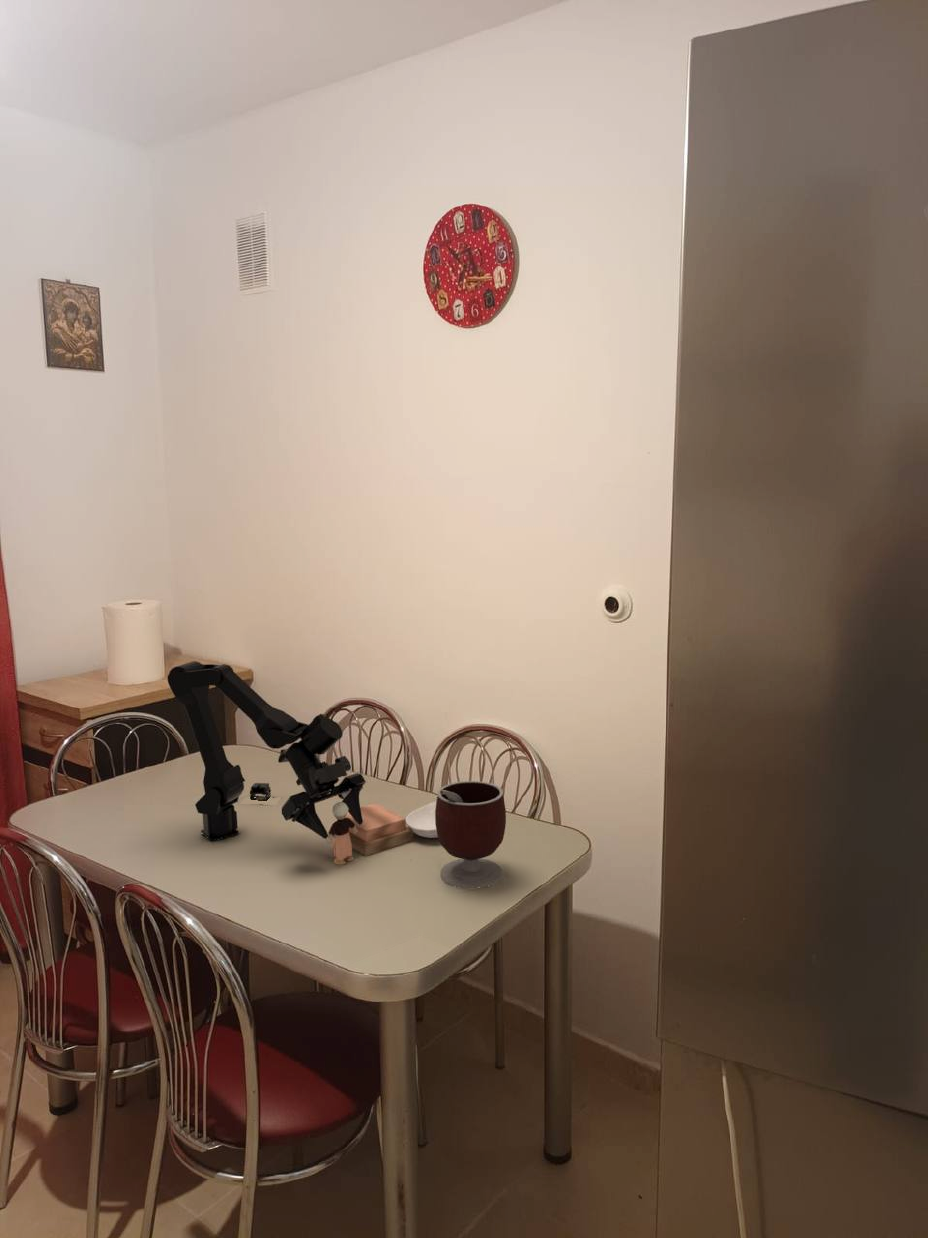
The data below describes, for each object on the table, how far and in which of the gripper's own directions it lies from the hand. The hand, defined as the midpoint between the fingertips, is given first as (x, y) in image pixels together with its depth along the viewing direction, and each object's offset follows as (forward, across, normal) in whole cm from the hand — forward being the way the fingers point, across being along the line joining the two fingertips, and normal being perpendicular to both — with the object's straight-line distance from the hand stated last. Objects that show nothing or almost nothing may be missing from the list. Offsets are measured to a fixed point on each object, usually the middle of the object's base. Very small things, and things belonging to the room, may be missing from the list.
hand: (344, 830), depth 175 cm
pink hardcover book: (+1, +12, +8) cm, 15 cm away
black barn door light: (-25, +9, +36) cm, 45 cm away
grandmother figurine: (+4, 0, +6) cm, 7 cm away
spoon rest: (+8, +28, +2) cm, 29 cm away
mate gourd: (+22, +12, -11) cm, 27 cm away
